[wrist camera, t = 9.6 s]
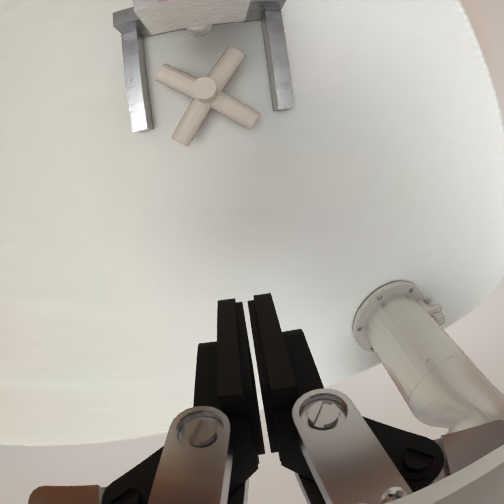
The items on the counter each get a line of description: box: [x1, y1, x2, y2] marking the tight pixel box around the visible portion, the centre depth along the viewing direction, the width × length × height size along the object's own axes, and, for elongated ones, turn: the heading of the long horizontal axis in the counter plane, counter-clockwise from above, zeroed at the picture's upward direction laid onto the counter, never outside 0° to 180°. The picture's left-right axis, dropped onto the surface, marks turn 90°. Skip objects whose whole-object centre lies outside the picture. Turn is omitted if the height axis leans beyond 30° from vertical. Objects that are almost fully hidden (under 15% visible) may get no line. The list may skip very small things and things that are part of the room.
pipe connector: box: [155, 46, 260, 146], centre depth 25 cm, size 10×10×10 cm
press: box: [113, 0, 294, 132], centre depth 17 cm, size 16×17×22 cm
